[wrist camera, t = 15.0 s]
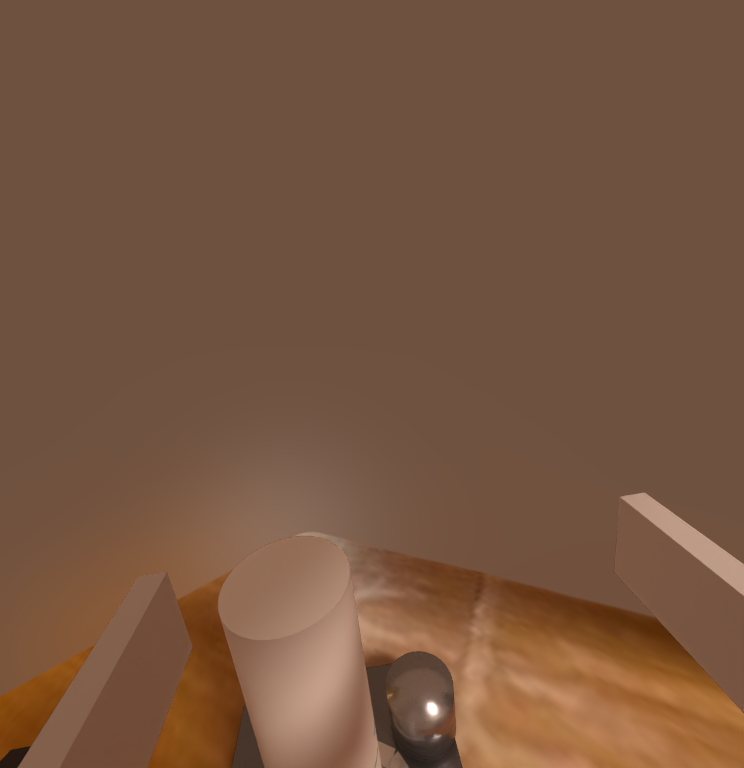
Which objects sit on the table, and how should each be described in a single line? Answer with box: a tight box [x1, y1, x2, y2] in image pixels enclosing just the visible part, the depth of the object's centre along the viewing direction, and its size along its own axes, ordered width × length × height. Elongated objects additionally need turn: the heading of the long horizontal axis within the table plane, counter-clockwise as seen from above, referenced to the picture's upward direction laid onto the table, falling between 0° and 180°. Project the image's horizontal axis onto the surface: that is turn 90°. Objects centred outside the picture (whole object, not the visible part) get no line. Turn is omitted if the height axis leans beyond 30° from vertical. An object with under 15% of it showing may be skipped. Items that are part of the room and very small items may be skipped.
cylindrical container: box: [218, 536, 382, 768], centre depth 25 cm, size 7×7×25 cm
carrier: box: [232, 651, 462, 768], centre depth 31 cm, size 20×20×8 cm
